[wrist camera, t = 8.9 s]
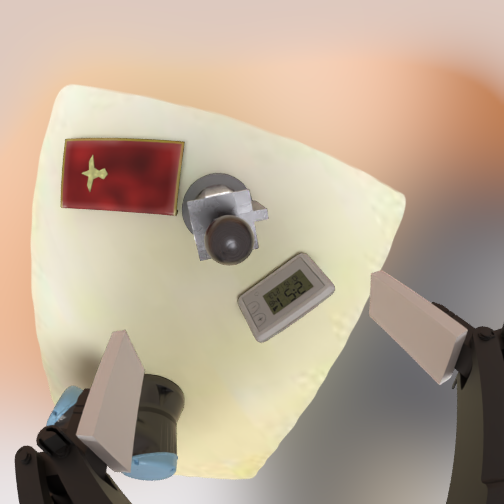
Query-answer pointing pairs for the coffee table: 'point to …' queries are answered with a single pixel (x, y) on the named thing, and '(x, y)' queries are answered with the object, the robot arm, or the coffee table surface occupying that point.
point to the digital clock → (284, 297)
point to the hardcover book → (122, 175)
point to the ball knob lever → (229, 240)
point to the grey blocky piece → (222, 211)
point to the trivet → (204, 183)
